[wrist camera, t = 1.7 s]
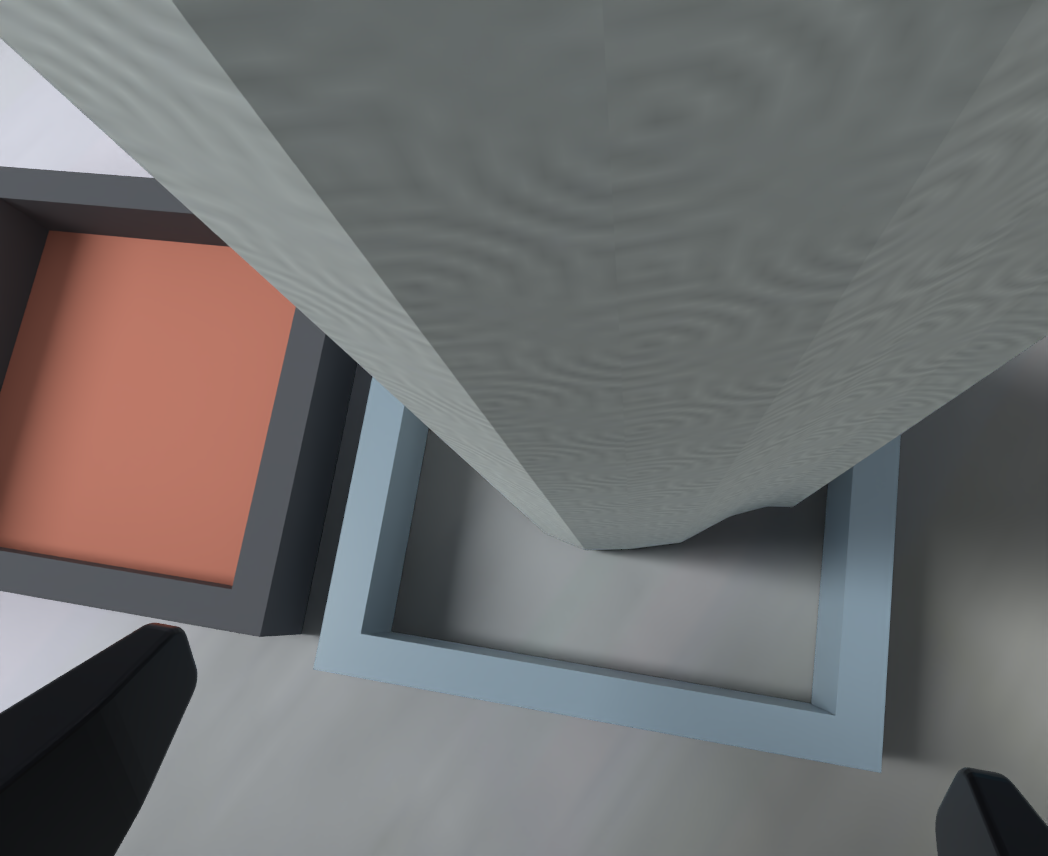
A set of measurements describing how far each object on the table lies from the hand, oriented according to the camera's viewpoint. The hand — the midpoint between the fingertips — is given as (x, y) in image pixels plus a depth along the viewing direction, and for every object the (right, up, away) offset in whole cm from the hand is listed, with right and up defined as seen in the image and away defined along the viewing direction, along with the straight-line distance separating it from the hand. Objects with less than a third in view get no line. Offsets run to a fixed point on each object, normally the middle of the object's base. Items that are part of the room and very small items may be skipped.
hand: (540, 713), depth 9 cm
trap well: (-11, +4, +15) cm, 19 cm away
